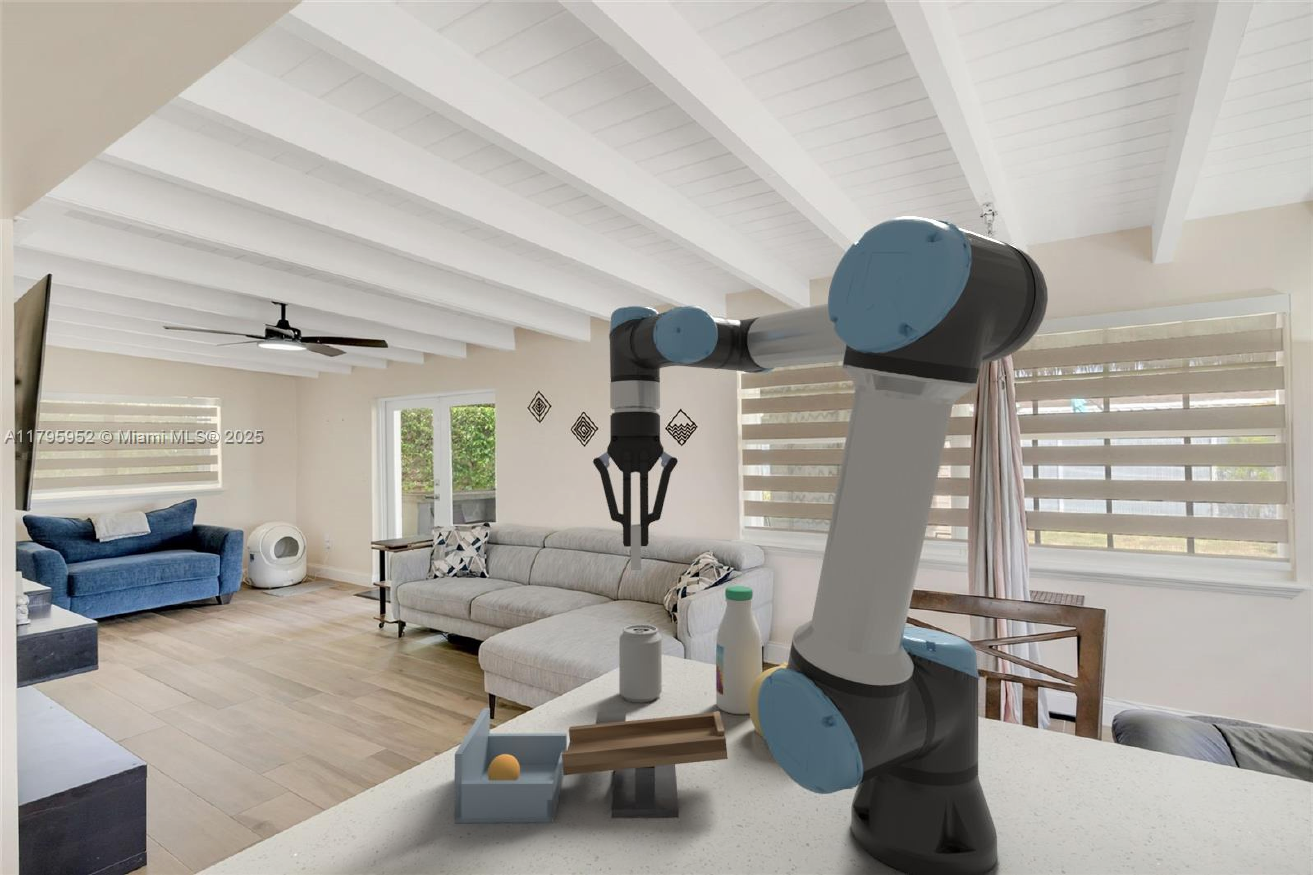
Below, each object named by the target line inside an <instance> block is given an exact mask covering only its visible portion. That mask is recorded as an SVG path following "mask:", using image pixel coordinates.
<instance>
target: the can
mask: <svg viewBox="0 0 1313 875" xmlns="http://www.w3.org/2000/svg"><path fill="white" fill-rule="evenodd" d="M622 631H623V632H622V633H621V634H620V635H619V638H618V639H619V644H618V645H619V658H618V660H619V661H618V662H619V663H618V664H619V671H618V672H619V679H618V680H619V686H618V688H619V690H618V691H619V692H618V693H619V694H620V695H621V696H622V697H623V698H624V699H625V700H626V701H628V702H632V703H648V702H652V701H654V700H656V699H657V697H659V696H660V695H661V693H662V691H663V690H662V689H663V688H662V687H663V686H662V683H663V682H662V680H663V679H662V676H663V674H662V670H663V669H662V666H663V665H662V663H663V662H662V661H663V660H662V658H663V657H662V656H663V654H662V648H663V647H662V644H663V643H662V642H663V640H662V638H663V637H662V636H661V634H660V633H659V632H658V631H659V629H658V627H657V626H654V625H652V624H644V623H639V624H637V623H636V624H631V625H627V626H624V627H623V628H622Z"/></svg>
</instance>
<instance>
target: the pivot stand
mask: <svg viewBox="0 0 1313 875" xmlns="http://www.w3.org/2000/svg"><path fill="white" fill-rule="evenodd" d="M676 769H677V768H676V764H672V765H662V766H652V767H642V768H632V769H622V770H614V779H613V789H612V797H611V808H610V819H678V818H679V817H680V816H679V813H680V810H679V807H680V806H679V797H678V796H679V795H678V784H677V773H676Z"/></svg>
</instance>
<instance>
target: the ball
mask: <svg viewBox="0 0 1313 875" xmlns="http://www.w3.org/2000/svg"><path fill="white" fill-rule="evenodd" d="M519 775H520V766H519V763H518V761H517V759H516V758H515V757H513V756H511V755H508V754H503V755H499V756H497V757H496V758H495V759H494V760H493V761H492V762H491V764H490V766H489V769H488V779H489V780H518V778H519Z"/></svg>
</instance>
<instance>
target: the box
mask: <svg viewBox="0 0 1313 875" xmlns="http://www.w3.org/2000/svg"><path fill="white" fill-rule="evenodd" d="M490 713H491V708H490V707H484V708H482V710H481V712H479V715H478V717H477V718H476V720H475V721H474V722H473V725H472V726H471V728H470V729H469V731H468V733H467V734H466V736H465V737H464V738H463V740H462V741H461V743H460V745H459V746H458V748H457V750H455V753H454V818H453V819H454V820H453V821H454V824H479V823H480V824H489V823H490V824H491V823H492V824H494V823H495V824H498V823H502V824H504V823H510V824H511V823H517V824H518V823H519V824H520V823H522V824H523V823H530V824H531V823H535V824H536V823H553V821H554V818H555V813H556V810H557V806H558V802H559V798H560V795H561V790H562V787H563V783H564V779H565V776H566V775H564V774H563V763H562V752H563V751H566V750H568V732H567V733H566V732H562V733H561V732H560V733H559V732H551V733H550V732H548V733H546V732H545V733H543V732H542V733H540V732H537V733H533V732H532V733H530V732H529V733H528V732H527V733H526V732H525V733H521V732H520V733H518V732H517V733H514V732H513V733H507V732H505V733H502V732H501V733H491V732H490V731H491V730H490V728H491V727H490V726H491V724H490V723H491V717H490V716H491V714H490ZM503 754H508V755H511V756H513V757H515V758H516V759H517V761H518V763H519V766H520V775H519V778H518V780H489V779H488V769H489V766H490V764H491V762H492V761H493V760H494V759H495V758H496V757H497V756H499V755H503Z"/></svg>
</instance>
